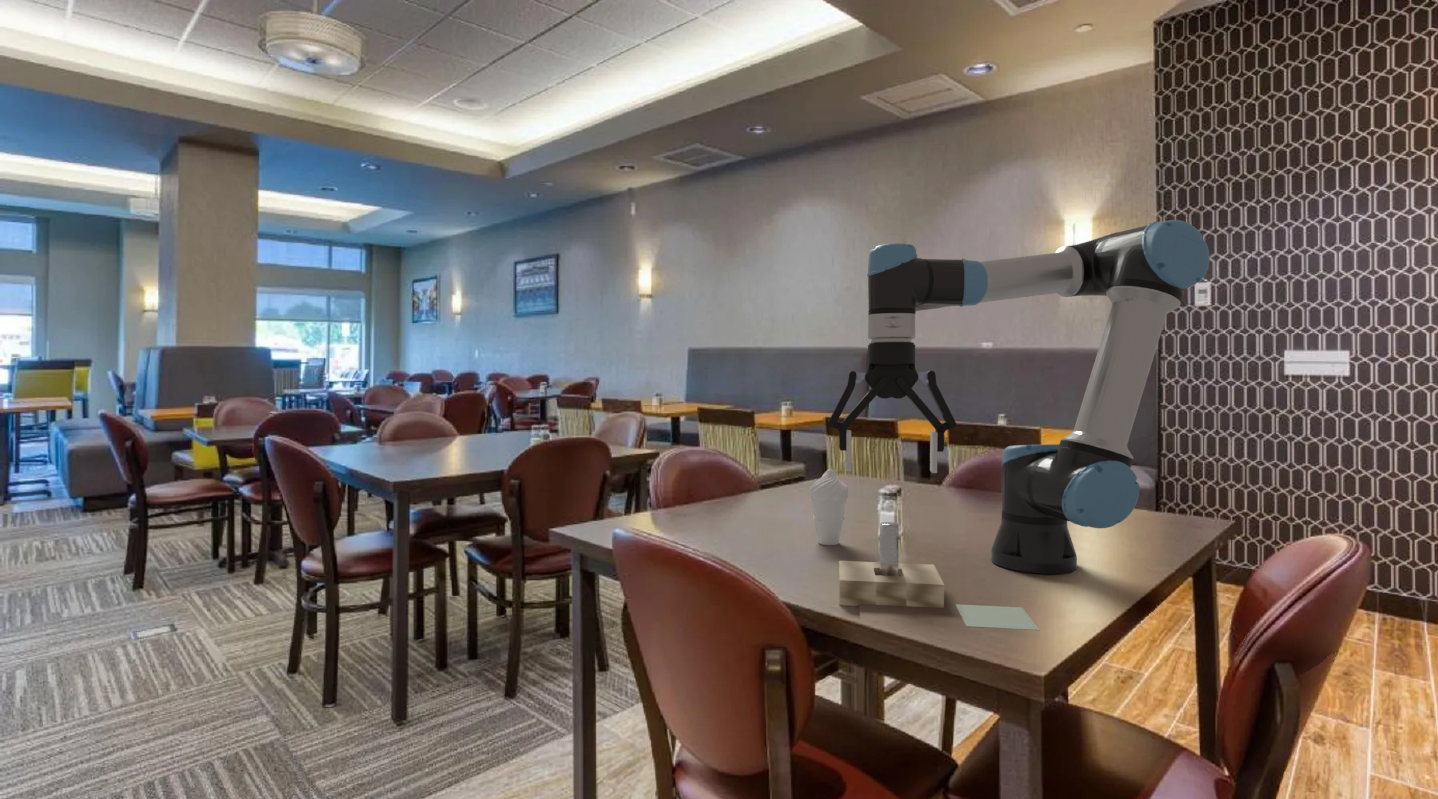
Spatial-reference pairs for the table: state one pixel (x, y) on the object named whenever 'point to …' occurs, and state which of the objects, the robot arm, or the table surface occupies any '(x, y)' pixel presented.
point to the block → (890, 585)
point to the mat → (996, 617)
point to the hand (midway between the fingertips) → (890, 471)
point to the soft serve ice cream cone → (828, 507)
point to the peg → (889, 548)
